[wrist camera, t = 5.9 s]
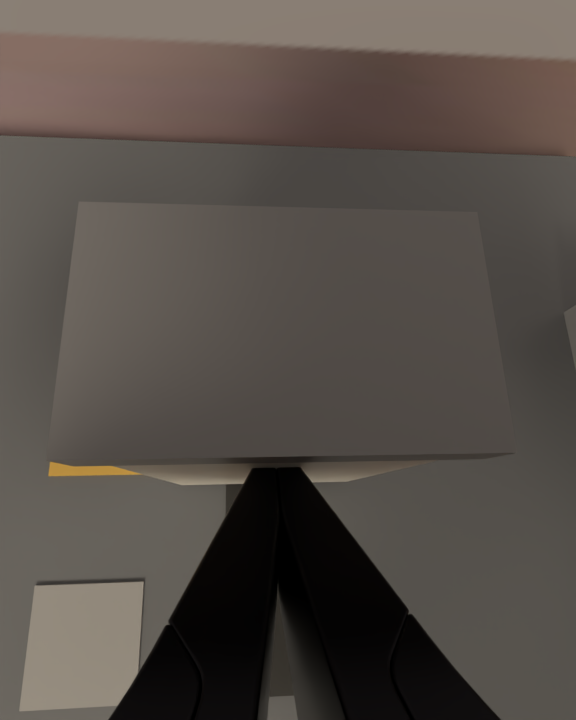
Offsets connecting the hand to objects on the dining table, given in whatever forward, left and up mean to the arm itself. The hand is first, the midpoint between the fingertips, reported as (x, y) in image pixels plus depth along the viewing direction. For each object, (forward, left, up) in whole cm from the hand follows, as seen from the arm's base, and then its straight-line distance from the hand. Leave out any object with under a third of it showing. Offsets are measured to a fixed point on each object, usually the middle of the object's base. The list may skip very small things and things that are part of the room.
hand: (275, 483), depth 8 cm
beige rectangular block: (+1, -2, -6) cm, 6 cm away
